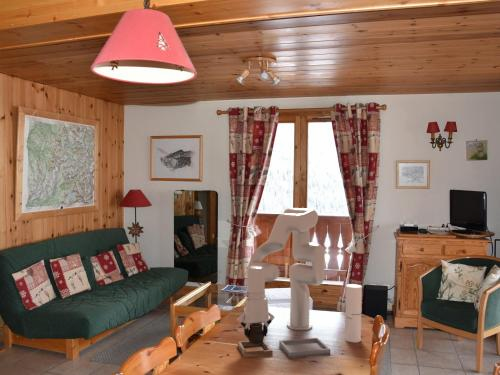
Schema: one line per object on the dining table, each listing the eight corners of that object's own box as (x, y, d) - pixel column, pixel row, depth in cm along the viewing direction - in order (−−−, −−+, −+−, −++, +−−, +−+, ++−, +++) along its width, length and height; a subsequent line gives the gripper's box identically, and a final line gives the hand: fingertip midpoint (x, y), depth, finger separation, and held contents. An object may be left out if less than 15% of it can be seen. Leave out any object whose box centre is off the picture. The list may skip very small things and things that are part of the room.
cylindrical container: (361, 343, 204) (362, 288, 204) (344, 341, 206) (346, 287, 205) (360, 337, 211) (361, 284, 211) (344, 336, 213) (345, 283, 212)
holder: (237, 346, 198) (237, 341, 198) (263, 344, 201) (264, 339, 201) (244, 357, 185) (244, 352, 185) (272, 355, 188) (272, 350, 188)
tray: (279, 346, 199) (279, 340, 199) (317, 343, 203) (317, 337, 203) (289, 358, 185) (289, 352, 185) (330, 355, 190) (330, 349, 189)
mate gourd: (255, 337, 199) (256, 315, 198) (268, 342, 194) (268, 319, 193) (244, 342, 194) (244, 319, 193) (256, 347, 188) (256, 324, 188)
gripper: (238, 299, 187) (238, 341, 188) (278, 296, 191) (277, 337, 192) (234, 294, 194) (234, 334, 195) (272, 291, 198) (272, 331, 199)
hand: (255, 335), depth 193 cm, fingers closed on mate gourd, 7 cm apart
